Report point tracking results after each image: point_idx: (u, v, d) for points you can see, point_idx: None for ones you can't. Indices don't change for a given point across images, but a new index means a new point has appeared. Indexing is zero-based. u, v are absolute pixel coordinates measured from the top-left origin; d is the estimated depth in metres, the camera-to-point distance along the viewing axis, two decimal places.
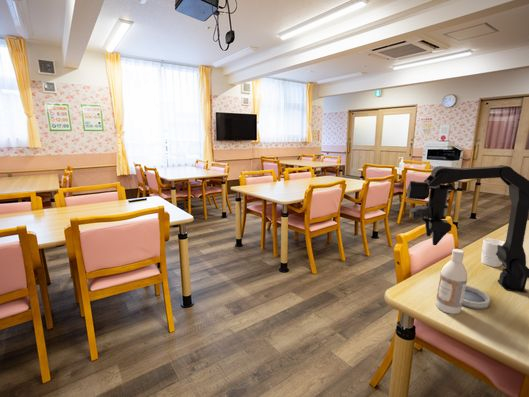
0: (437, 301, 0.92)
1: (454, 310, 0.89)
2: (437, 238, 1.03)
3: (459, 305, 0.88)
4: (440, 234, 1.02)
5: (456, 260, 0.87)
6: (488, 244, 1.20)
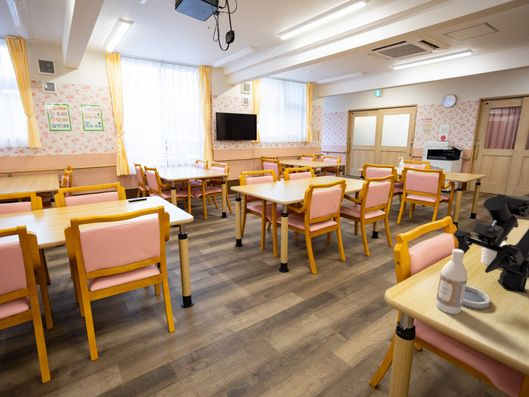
0: (437, 301, 0.92)
1: (454, 310, 0.89)
2: (495, 266, 0.87)
3: (459, 305, 0.88)
4: (500, 263, 0.87)
5: (456, 260, 0.87)
6: None
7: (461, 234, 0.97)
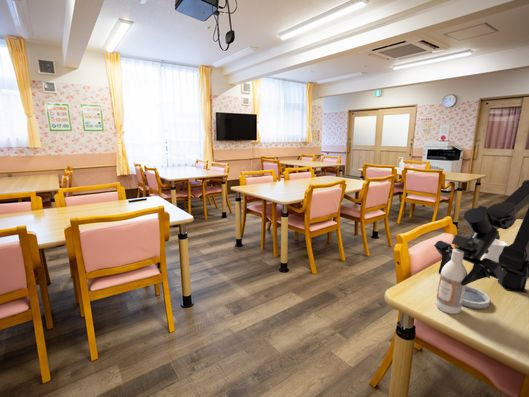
0: (437, 301, 0.92)
1: (454, 310, 0.89)
2: (471, 279, 0.85)
3: (459, 305, 0.88)
4: (477, 276, 0.86)
5: (456, 260, 0.87)
6: None
7: (442, 246, 0.94)
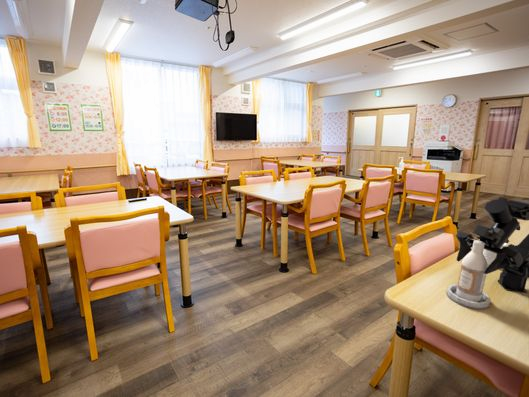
0: (458, 290, 0.97)
1: (474, 299, 0.94)
2: (495, 268, 0.89)
3: (479, 294, 0.93)
4: (500, 265, 0.89)
5: (476, 251, 0.92)
6: None
7: (463, 236, 0.99)
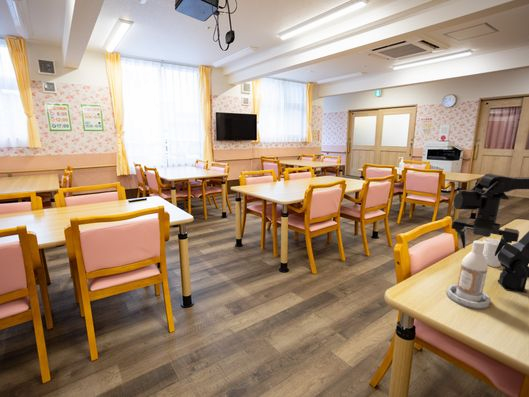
0: (458, 290, 0.97)
1: (474, 299, 0.94)
2: (500, 248, 0.99)
3: (479, 294, 0.93)
4: None
5: (476, 251, 0.92)
6: (488, 244, 1.20)
7: (460, 228, 1.04)
